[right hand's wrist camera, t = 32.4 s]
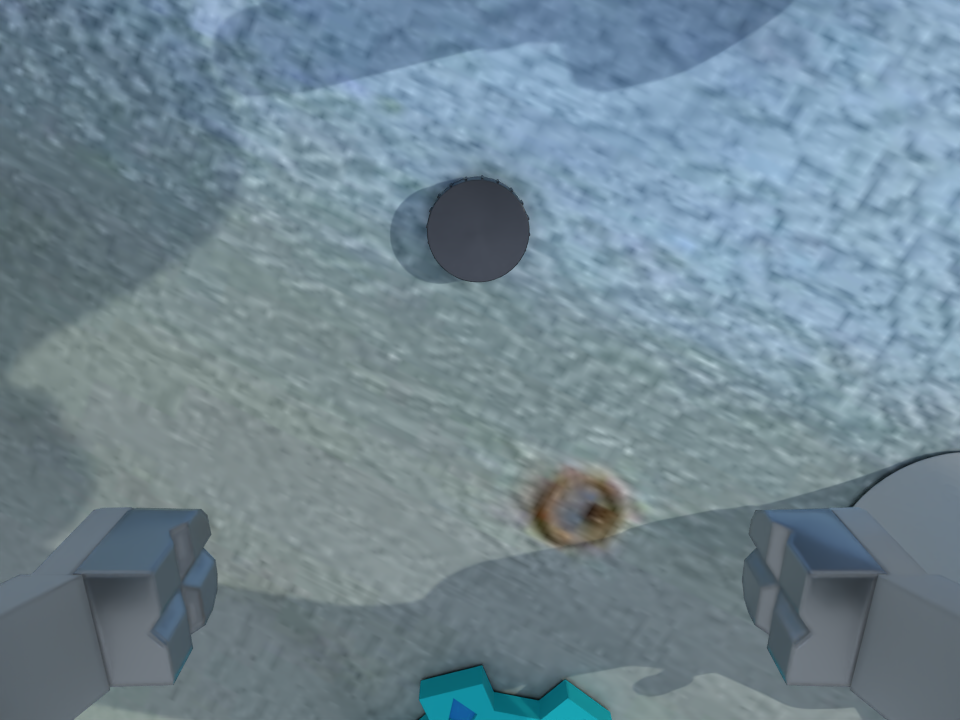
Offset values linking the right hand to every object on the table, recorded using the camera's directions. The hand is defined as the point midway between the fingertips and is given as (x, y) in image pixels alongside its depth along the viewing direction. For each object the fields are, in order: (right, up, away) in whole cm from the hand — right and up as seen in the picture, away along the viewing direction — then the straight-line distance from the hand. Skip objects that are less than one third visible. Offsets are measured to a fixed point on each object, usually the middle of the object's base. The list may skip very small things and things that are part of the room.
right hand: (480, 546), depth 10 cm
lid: (0, +10, +26) cm, 28 cm away
